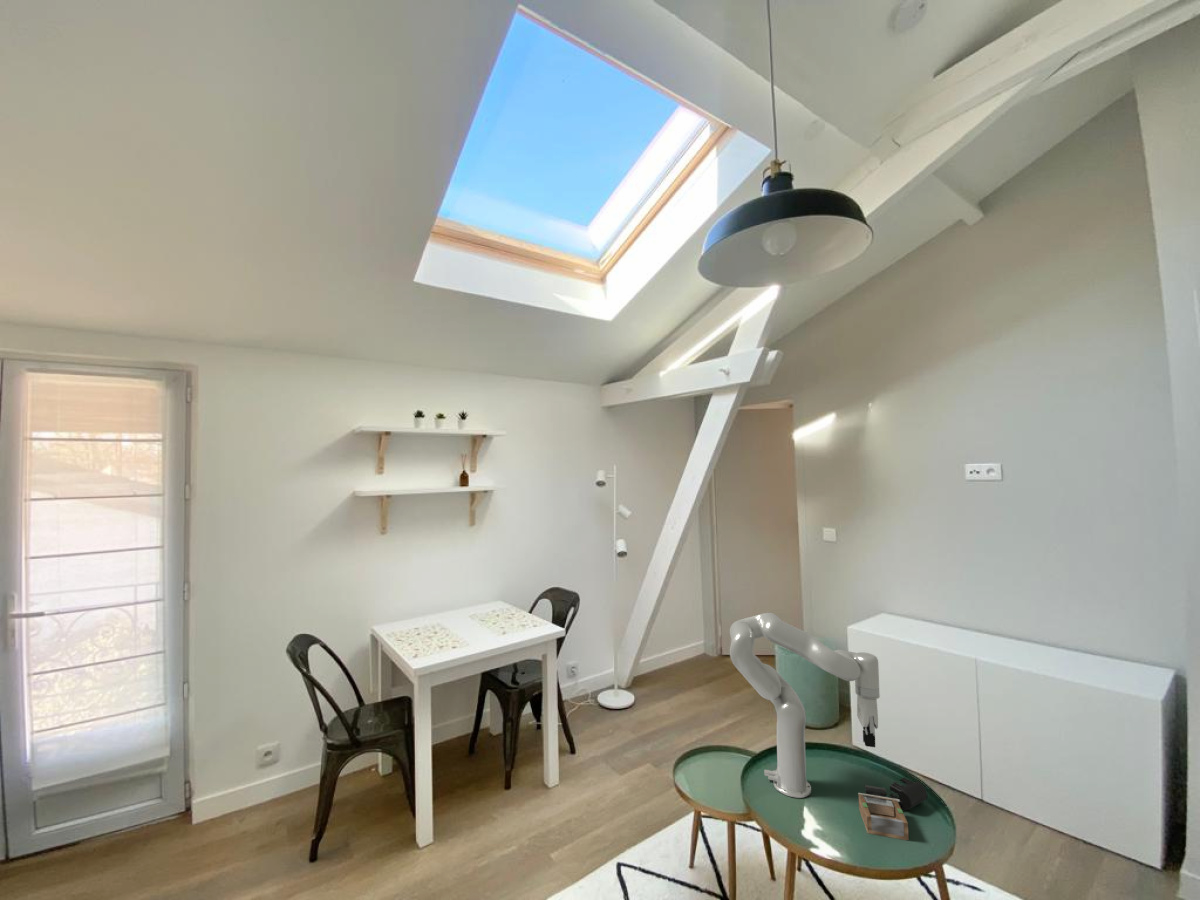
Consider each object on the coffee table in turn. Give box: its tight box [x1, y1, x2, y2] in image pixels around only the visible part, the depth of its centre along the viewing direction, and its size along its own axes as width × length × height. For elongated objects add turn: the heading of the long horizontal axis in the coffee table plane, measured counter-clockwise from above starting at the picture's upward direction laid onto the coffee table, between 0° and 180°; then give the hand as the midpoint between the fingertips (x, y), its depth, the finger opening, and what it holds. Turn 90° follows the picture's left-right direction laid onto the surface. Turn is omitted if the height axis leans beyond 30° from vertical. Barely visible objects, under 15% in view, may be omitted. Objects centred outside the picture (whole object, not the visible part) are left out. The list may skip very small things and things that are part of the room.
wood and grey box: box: [858, 795, 910, 841], centre depth 156 cm, size 11×12×5 cm
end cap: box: [889, 777, 928, 812], centre depth 166 cm, size 10×7×7 cm
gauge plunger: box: [857, 784, 900, 816], centre depth 162 cm, size 12×6×5 cm, turn 73°
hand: (869, 744), depth 172 cm, fingers closed
